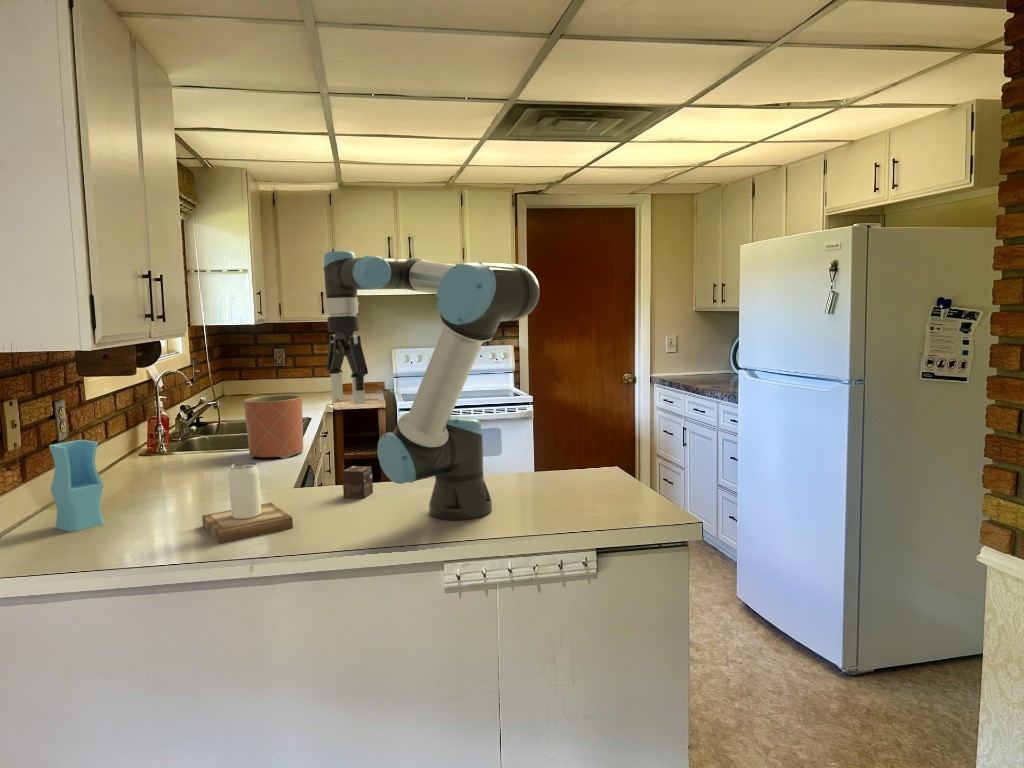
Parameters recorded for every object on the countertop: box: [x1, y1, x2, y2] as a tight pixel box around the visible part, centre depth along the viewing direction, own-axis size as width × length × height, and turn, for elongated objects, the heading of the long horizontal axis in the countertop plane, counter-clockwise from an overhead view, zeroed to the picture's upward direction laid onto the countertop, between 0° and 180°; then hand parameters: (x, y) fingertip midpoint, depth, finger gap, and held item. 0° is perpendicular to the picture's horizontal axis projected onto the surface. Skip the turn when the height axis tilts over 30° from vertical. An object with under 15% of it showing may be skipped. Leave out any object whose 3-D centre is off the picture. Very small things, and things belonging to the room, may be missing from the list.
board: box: [201, 502, 294, 544], centre depth 161 cm, size 16×16×3 cm
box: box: [341, 465, 374, 499], centre depth 185 cm, size 6×6×7 cm
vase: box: [48, 439, 105, 533], centre depth 165 cm, size 8×8×20 cm
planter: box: [243, 394, 304, 460], centre depth 241 cm, size 19×19×20 cm
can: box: [228, 461, 262, 520], centre depth 160 cm, size 6×6×12 cm
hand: (348, 401), depth 172 cm, fingers open, 13 cm apart
